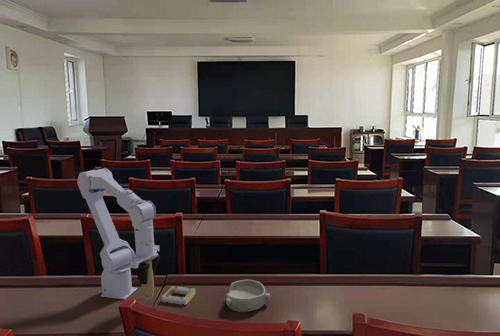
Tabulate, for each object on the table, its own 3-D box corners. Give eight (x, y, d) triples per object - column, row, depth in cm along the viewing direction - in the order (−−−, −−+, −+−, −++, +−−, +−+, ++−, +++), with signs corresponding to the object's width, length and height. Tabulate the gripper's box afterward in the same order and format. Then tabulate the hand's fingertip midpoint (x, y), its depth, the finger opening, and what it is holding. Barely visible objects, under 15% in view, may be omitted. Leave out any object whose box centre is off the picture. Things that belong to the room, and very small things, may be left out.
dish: (227, 316, 126) (226, 301, 125) (222, 294, 140) (222, 281, 139) (273, 311, 128) (272, 296, 128) (264, 290, 142) (264, 277, 141)
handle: (155, 302, 130) (152, 257, 128) (136, 301, 131) (132, 256, 129) (160, 294, 135) (158, 251, 132) (142, 293, 136) (139, 250, 133)
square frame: (162, 301, 135) (161, 295, 135) (172, 291, 143) (172, 285, 142) (186, 305, 133) (185, 298, 133) (195, 293, 140) (195, 288, 140)
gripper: (144, 249, 122) (147, 292, 124) (166, 233, 135) (168, 272, 138) (123, 247, 124) (126, 289, 126) (147, 232, 137) (150, 270, 140)
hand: (147, 280), depth 132 cm, fingers closed on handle, 4 cm apart
